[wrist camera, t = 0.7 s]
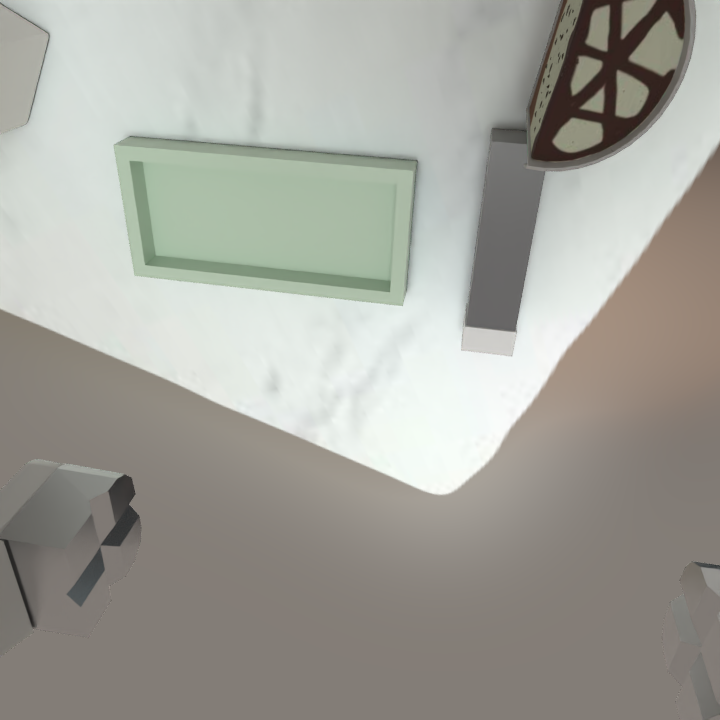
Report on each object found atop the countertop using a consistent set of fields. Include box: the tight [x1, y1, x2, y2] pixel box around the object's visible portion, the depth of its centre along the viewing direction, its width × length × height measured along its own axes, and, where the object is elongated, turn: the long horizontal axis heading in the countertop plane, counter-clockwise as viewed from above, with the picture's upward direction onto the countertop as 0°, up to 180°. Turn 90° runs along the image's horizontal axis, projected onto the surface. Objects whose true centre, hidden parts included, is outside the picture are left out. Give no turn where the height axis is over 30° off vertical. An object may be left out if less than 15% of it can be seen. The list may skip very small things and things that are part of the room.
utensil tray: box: [114, 136, 417, 306], centre depth 48 cm, size 10×21×2 cm, turn 88°
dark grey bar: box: [461, 128, 545, 356], centre depth 46 cm, size 15×4×4 cm, turn 178°
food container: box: [523, 0, 696, 171], centre depth 36 cm, size 12×6×10 cm, turn 169°
